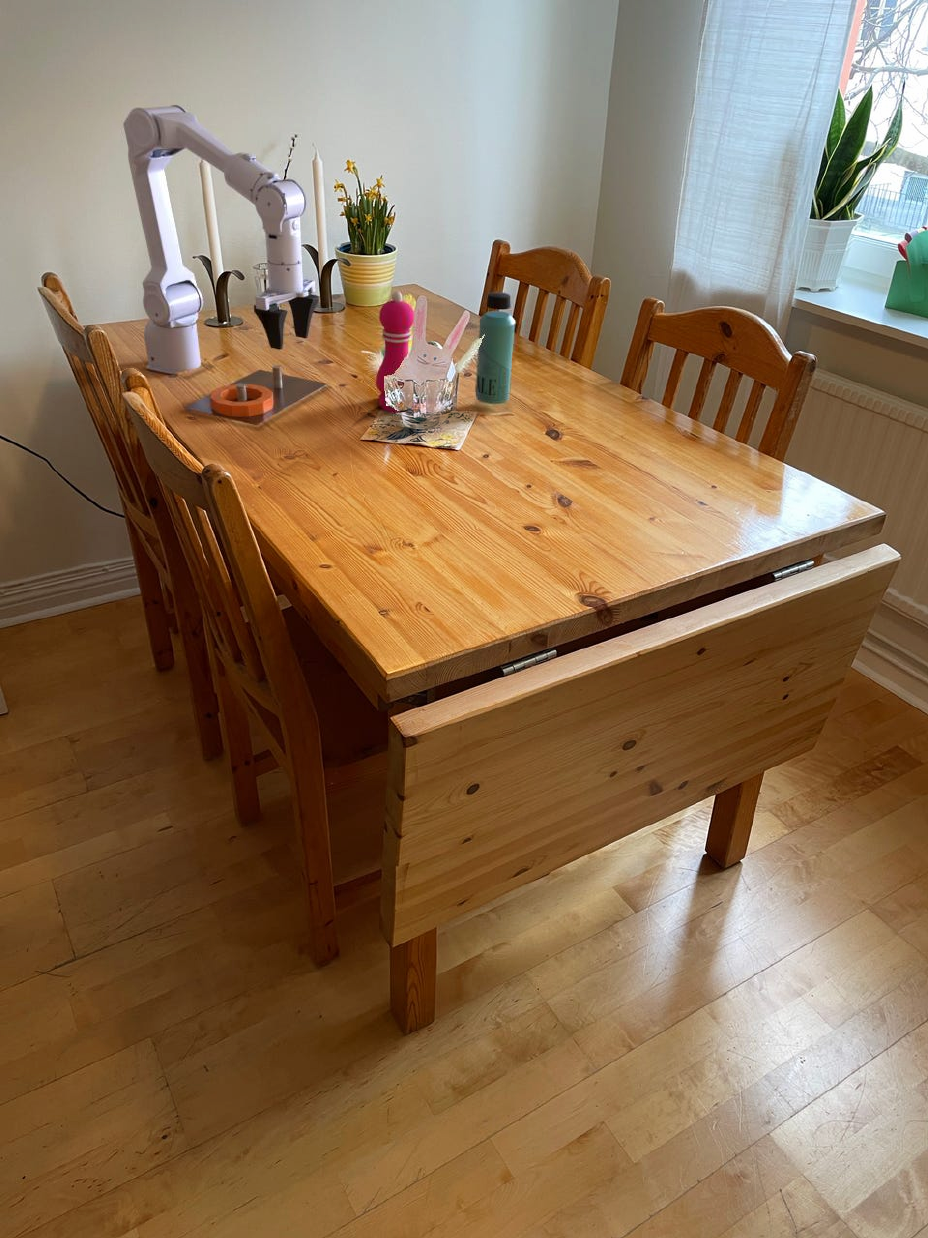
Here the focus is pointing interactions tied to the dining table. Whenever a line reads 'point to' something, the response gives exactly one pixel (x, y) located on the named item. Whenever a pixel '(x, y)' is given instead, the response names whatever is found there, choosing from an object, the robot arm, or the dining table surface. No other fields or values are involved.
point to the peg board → (281, 385)
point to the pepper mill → (394, 340)
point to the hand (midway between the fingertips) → (289, 342)
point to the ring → (241, 409)
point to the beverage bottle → (495, 351)
